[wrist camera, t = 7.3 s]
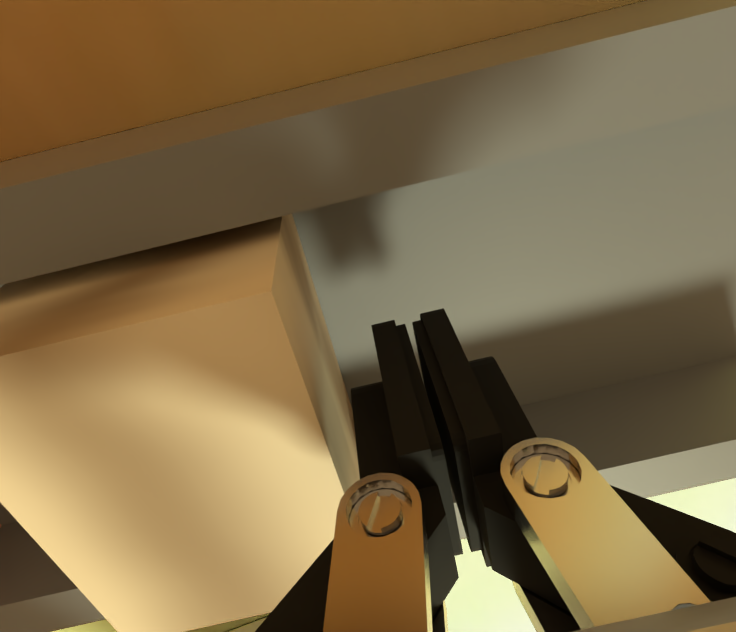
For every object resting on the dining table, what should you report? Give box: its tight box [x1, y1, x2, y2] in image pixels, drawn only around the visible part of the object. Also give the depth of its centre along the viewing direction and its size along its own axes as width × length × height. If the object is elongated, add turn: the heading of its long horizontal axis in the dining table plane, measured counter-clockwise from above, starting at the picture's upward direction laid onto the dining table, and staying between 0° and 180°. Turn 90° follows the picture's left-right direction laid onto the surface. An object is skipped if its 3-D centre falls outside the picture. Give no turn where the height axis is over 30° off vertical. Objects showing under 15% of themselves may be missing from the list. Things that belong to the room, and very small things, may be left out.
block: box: [0, 214, 360, 632], centre depth 12 cm, size 6×8×5 cm
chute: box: [0, 0, 736, 632], centre depth 12 cm, size 26×12×6 cm, turn 102°
